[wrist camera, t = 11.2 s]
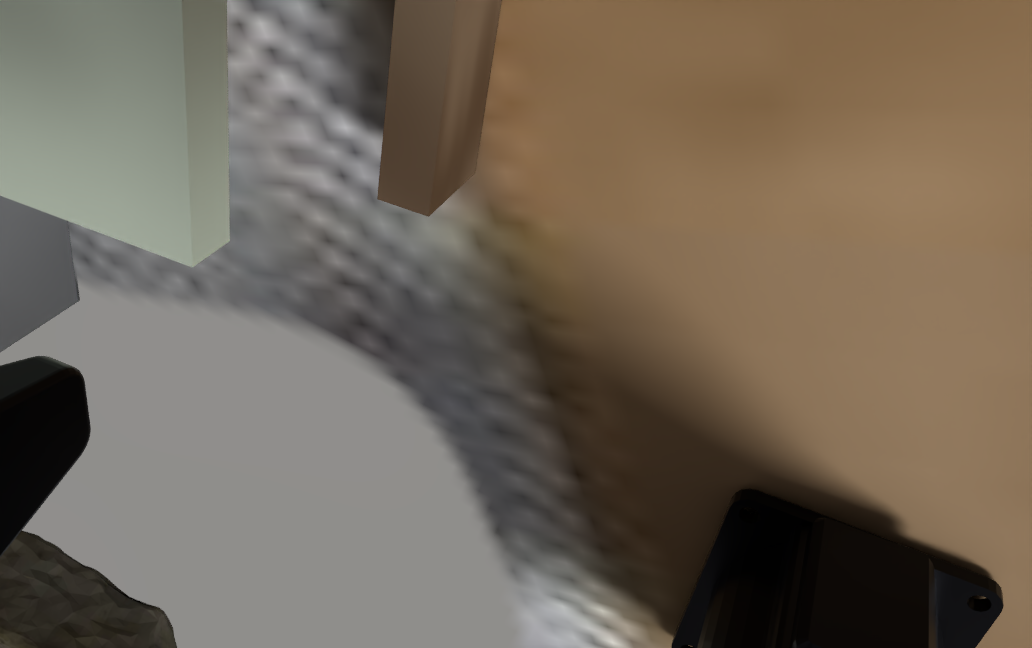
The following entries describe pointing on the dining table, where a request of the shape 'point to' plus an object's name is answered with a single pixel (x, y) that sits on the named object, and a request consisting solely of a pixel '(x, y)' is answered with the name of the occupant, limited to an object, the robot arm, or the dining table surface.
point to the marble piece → (70, 604)
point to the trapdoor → (119, 118)
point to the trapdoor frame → (435, 99)
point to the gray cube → (32, 270)
